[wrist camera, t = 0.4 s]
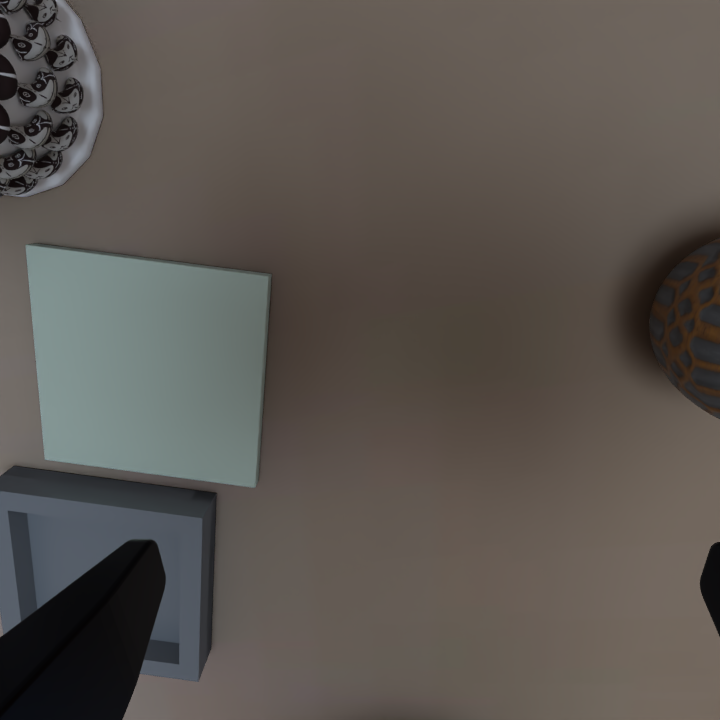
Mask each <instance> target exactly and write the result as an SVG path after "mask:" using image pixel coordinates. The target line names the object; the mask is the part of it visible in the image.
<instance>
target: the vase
mask: <svg viewBox="0 0 720 720" xmlns="http://www.w3.org/2000/svg"><path fill="white" fill-rule="evenodd" d="M650 337H651V343H652V347H653V350H654V353H655V356H656V358H657V360H658V363H659V365H660V366H661V368H662V370H663V371H664V373H665V374H666V376H667V377H668V379H669V380H670V381H671V383H672V384H673V385H674V386H675V387H676V388H677V389H678V390H679V391H680V392H681V393H682V394H683V395H684V396H686V397H687V398H688V399H689V400H691V401H692V402H693V403H694V404H696V405H697V406H698V407H700V408H701V409H703V410H705V411H706V412H708V413H709V414H711V415H713V416H715V417H716V418H719V419H720V238H718V239H716V240H713V241H711V242H709V243H707V244H705V245H704V246H702V247H700V248H699V249H697V250H695V251H694V252H692V253H691V254H690V255H688V256H687V257H686V258H684V259H683V260H682V261H681V262H680V263H679V264H678V265H677V266H676V267H675V268H674V269H673V270H672V271H671V272H670V273H669V275H668V276H667V277H666V279H665V280H664V281H663V283H662V285H661V286H660V288H659V290H658V292H657V294H656V296H655V299H654V302H653V305H652V309H651V315H650Z"/></svg>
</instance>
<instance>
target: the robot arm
mask: <svg viewBox="0 0 720 720" xmlns="http://www.w3.org/2000/svg"><path fill="white" fill-rule="evenodd" d="M165 585H166V574H165V570H164V566H163V563H162V559H161V555H160V552H159V548H158V545H157V543H156V542H155V541H154V540H152V539H131V540H128V541H127V542H125V543H124V544H122V545H121V546H120V547H119V548H117V549H116V550H115V551H113V552H112V553H111V554H109V555H108V556H107V557H105V558H104V559H103V560H101V561H100V562H99V563H97V564H96V565H95V566H93V567H92V568H91V569H90V570H88V571H87V572H86V573H84V574H83V575H82V576H80V577H79V578H78V579H76V580H75V581H74V582H72V583H71V584H70V585H68V586H67V587H66V588H65V589H63V590H62V591H61V592H59V593H58V594H57V595H55V596H54V597H53V598H51V599H50V600H49V601H47V602H46V603H45V604H43V605H42V606H41V607H40V608H38V609H37V610H36V611H34V612H33V613H32V614H30V615H29V616H28V617H26V618H25V619H24V620H22V621H21V622H20V623H18V624H17V625H16V626H15V627H13V628H12V629H11V630H9V631H8V632H7V633H5V634H4V635H3V636H1V637H0V720H122V719H123V717H124V714H125V712H126V709H127V707H128V704H129V702H130V699H131V697H132V694H133V691H134V689H135V686H136V683H137V681H138V677H139V674H140V671H141V668H142V665H143V661H144V658H145V655H146V651H147V648H148V644H149V641H150V638H151V634H152V631H153V627H154V624H155V621H156V617H157V614H158V610H159V607H160V604H161V600H162V597H163V593H164V590H165ZM700 589H701V593H702V596H703V599H704V601H705V603H706V606H707V608H708V610H709V613H710V615H711V617H712V620H713V622H714V624H715V627H716V629H717V631H718V634H719V636H720V542H717V543H714V544H713V545H712V546H711V548H710V551H709V554H708V557H707V560H706V563H705V566H704V569H703V572H702V575H701V579H700Z"/></svg>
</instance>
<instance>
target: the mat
mask: <svg viewBox="0 0 720 720" xmlns="http://www.w3.org/2000/svg"><path fill="white" fill-rule="evenodd" d="M26 256H27V267H28V278H29V289H30V300H31V312H32V323H33V334H34V345H35V356H36V367H37V378H38V389H39V400H40V411H41V422H42V433H43V444H44V455H45V460H51V461H59V462H66V463H74V464H81V465H88V466H96V467H103V468H111V469H118V470H126V471H133V472H141V473H148V474H155V475H163V476H170V477H178V478H185V479H193V480H200V481H208V482H215V483H222V484H230V485H237V486H245V487H252V488H255V487H256V485H257V483H258V477H259V462H260V446H261V431H262V415H263V400H264V384H265V369H266V353H267V338H268V322H269V307H270V291H271V276H272V274H268V273H260V272H252V271H245V270H237V269H229V268H222V267H214V266H206V265H199V264H191V263H183V262H175V261H168V260H160V259H152V258H145V257H137V256H129V255H122V254H114V253H106V252H99V251H91V250H83V249H75V248H68V247H60V246H52V245H45V244H37V243H33V244H27V245H26Z"/></svg>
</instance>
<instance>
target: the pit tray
mask: <svg viewBox="0 0 720 720" xmlns="http://www.w3.org/2000/svg"><path fill="white" fill-rule="evenodd" d="M215 520H216V493H211V492H204V491H196V490H189V489H182V488H174V487H167V486H159V485H152V484H144V483H137V482H129V481H122V480H115V479H107V478H100V477H92V476H85V475H77V474H70V473H63V472H55V471H48V470H40V469H33V468H25V467H18V466H13V467H12V468H11V469H9V470H8V471H7V472H5V473H4V474H3V475H1V476H0V612H1V620H2V627H3V634H5V633H7V632H8V631H9V630H11V629H12V628H13V627H15V626H16V625H17V624H18V623H20V622H21V621H22V620H24V619H25V618H26V617H28V616H29V615H30V614H32V613H33V612H34V611H36V610H37V609H38V608H40V607H41V606H42V605H43V604H45V603H46V602H47V601H49V600H50V599H51V598H53V597H54V596H55V595H57V594H58V593H59V592H61V591H62V590H63V589H65V588H66V587H67V586H68V585H70V584H71V583H72V582H74V581H75V580H76V579H78V578H79V577H80V576H82V575H83V574H84V573H86V572H87V571H88V570H90V569H91V568H92V567H93V566H95V565H96V564H97V563H99V562H100V561H101V560H103V559H104V558H105V557H107V556H108V555H109V554H111V553H112V552H113V551H115V550H116V549H117V548H119V547H120V546H121V545H122V544H124V543H125V542H127V541H128V540H131V539H152V540H154V541H155V542H156V543H157V545H158V548H159V552H160V555H161V559H162V563H163V566H164V570H165V574H166V585H165V590H164V593H163V597H162V600H161V604H160V607H159V610H158V614H157V617H156V621H155V624H154V627H153V631H152V634H151V638H150V641H149V644H148V648H147V651H146V655H145V658H144V661H143V665H142V668H141V671H140V674H146V675H153V676H160V677H167V678H175V679H182V680H189V681H196V682H199V679H200V676H201V674H202V671H203V668H204V666H205V663H206V661H207V658H208V655H209V653H210V650H211V637H212V607H213V578H214V549H215Z"/></svg>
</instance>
